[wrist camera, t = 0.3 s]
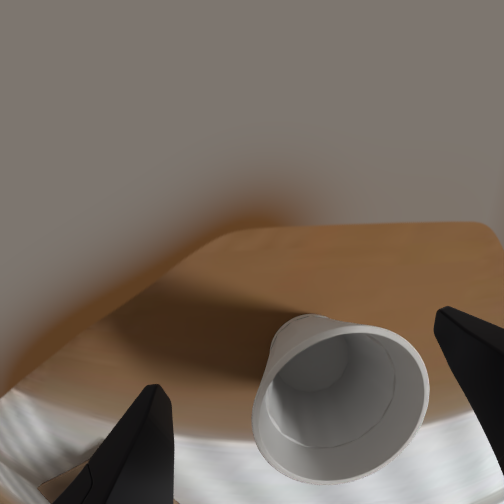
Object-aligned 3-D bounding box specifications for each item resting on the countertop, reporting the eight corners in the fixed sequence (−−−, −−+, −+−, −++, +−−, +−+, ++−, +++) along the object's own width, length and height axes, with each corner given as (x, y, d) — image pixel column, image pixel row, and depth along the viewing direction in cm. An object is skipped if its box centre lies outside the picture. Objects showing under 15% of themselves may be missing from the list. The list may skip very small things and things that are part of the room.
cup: (238, 357, 23) (211, 426, 11) (305, 282, 23) (345, 283, 11) (311, 414, 22) (340, 505, 10) (376, 344, 22) (456, 389, 10)
